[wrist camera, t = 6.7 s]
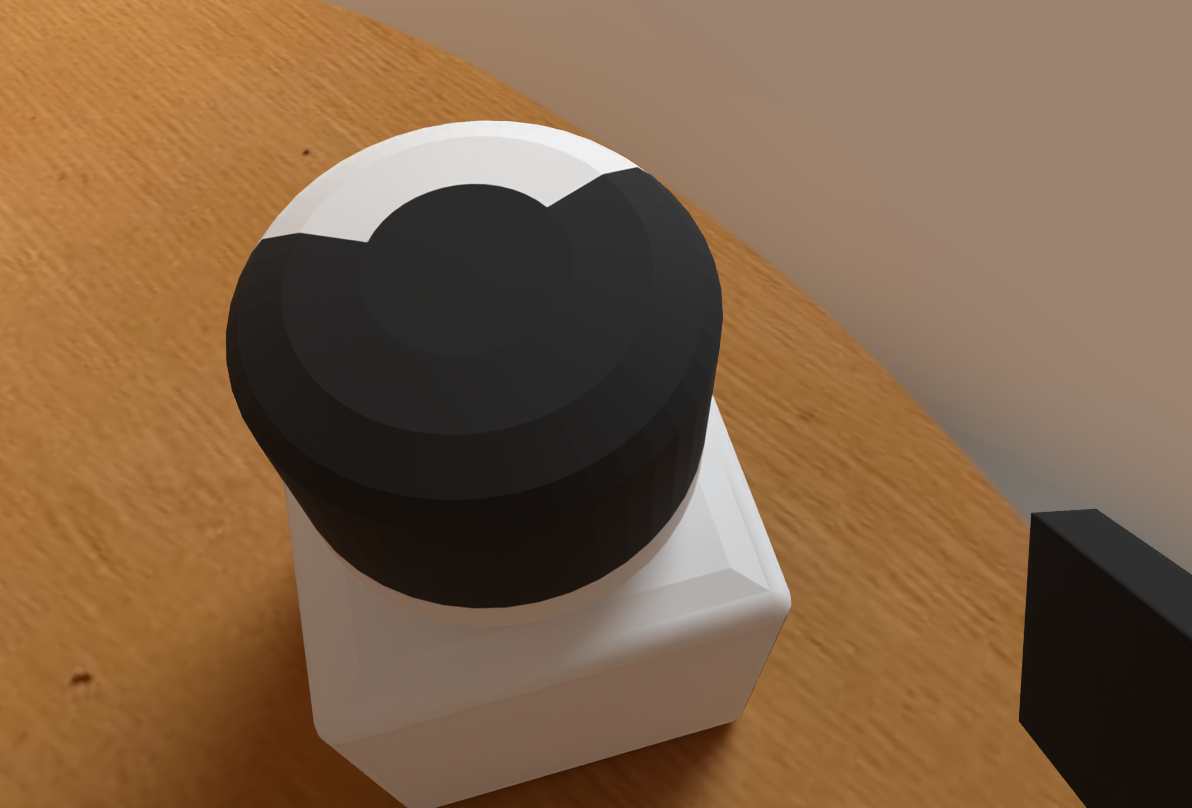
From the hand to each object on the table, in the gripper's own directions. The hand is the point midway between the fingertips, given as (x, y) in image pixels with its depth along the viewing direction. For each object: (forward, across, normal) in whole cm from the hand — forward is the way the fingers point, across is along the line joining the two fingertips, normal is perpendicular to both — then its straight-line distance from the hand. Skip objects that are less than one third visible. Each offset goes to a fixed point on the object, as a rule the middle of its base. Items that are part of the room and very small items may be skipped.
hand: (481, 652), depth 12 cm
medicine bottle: (+10, 0, -4) cm, 10 cm away
